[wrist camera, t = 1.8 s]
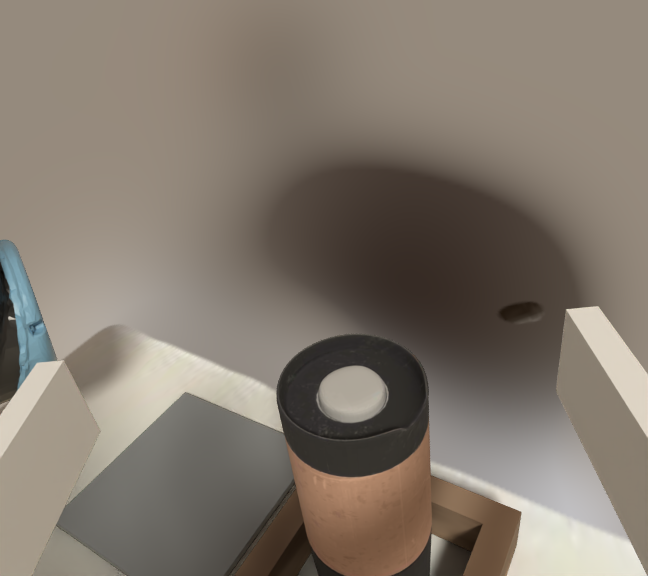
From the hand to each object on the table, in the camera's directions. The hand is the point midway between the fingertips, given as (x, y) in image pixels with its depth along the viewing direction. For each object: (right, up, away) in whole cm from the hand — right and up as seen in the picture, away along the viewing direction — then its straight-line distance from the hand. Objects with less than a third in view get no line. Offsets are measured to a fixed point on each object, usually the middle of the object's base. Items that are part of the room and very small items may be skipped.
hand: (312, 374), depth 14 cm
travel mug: (+4, -19, +23) cm, 30 cm away
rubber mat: (-11, -15, +32) cm, 37 cm away
